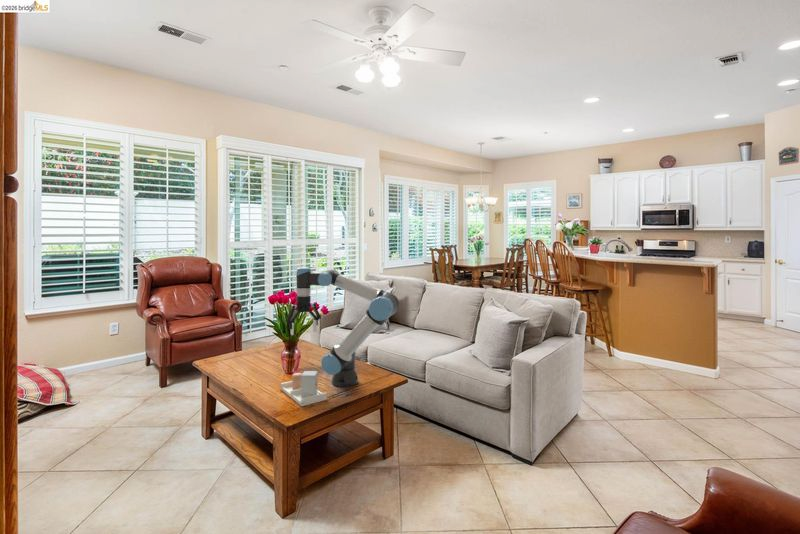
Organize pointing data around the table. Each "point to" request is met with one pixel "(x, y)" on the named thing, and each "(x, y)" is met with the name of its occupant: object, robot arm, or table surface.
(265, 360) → the table surface
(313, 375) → the supplement box
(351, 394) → the table surface
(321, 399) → the tray
